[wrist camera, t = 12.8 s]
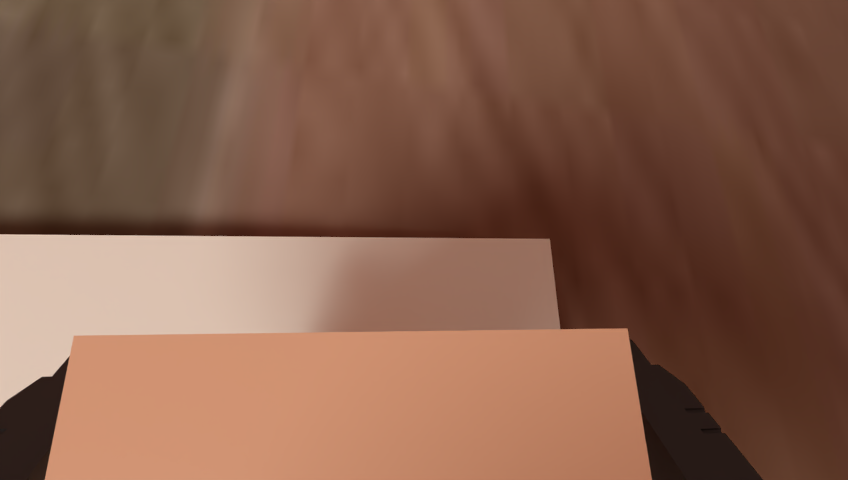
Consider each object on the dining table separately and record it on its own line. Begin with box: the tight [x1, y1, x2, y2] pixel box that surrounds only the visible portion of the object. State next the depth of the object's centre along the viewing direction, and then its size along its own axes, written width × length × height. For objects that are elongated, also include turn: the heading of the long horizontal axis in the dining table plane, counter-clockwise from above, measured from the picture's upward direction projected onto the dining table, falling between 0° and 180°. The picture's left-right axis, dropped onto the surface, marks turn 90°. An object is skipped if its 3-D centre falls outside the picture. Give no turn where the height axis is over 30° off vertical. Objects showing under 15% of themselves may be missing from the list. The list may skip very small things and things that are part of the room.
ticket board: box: [0, 234, 560, 407], centre depth 13 cm, size 12×26×1 cm, turn 91°
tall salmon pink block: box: [45, 328, 652, 480], centre depth 9 cm, size 3×5×10 cm, turn 91°
